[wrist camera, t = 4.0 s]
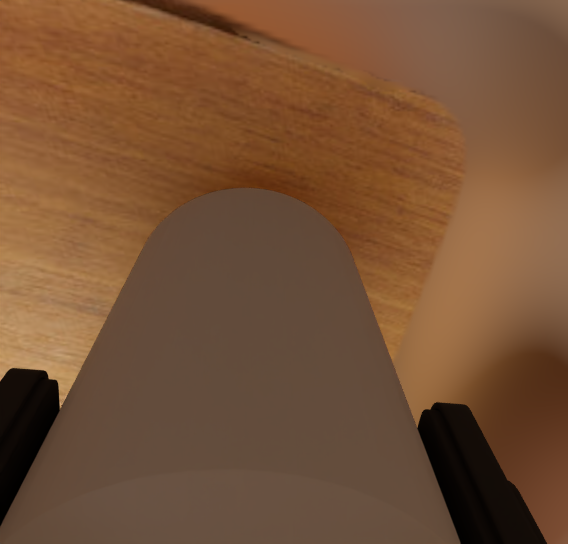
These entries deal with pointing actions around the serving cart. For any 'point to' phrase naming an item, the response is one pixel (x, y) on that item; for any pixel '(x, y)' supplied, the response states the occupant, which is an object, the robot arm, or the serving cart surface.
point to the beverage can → (235, 399)
